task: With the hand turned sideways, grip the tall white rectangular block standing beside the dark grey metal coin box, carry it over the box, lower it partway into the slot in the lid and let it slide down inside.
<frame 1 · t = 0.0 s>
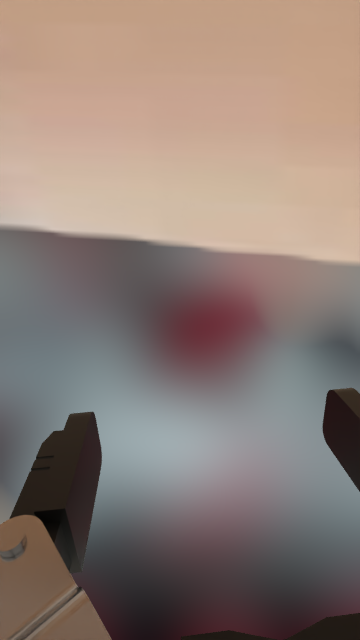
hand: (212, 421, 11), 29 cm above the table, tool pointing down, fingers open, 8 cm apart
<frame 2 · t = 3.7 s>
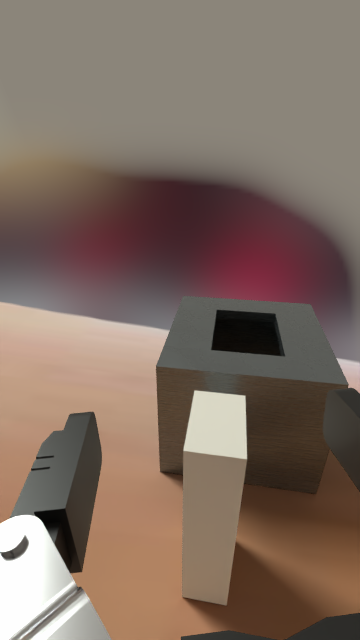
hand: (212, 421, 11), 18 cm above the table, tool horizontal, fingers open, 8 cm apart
coin box: (236, 425, 36), on the table
tall white rectangular block: (206, 563, 24), on the table
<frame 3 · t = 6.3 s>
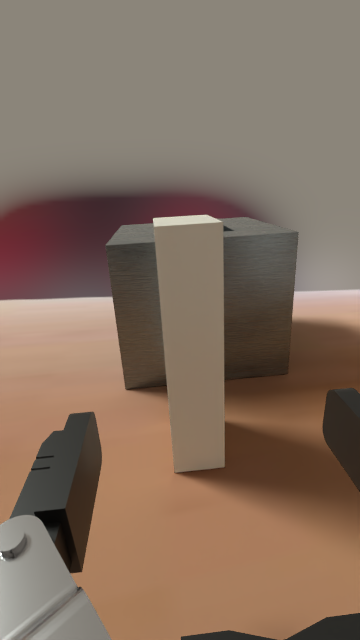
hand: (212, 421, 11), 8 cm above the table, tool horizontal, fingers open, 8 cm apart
coin box: (196, 345, 34), on the table
tall white rectangular block: (194, 442, 21), on the table
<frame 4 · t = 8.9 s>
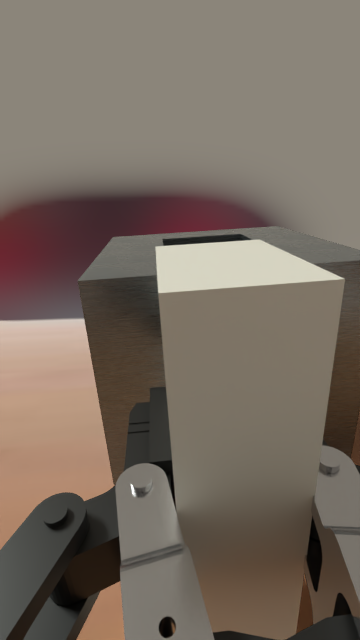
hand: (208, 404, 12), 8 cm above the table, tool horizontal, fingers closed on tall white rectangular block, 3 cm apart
coin box: (213, 399, 26), on the table
tall white rectangular block: (225, 623, 12), on the table, touching gripper
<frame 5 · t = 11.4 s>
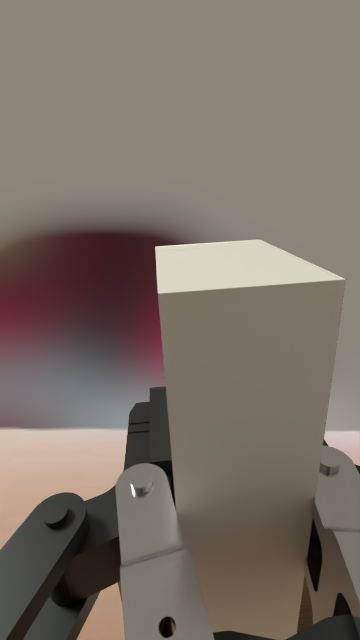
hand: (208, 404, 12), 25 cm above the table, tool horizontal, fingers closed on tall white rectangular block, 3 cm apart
coin box: (215, 562, 30), on the table
tall white rectangular block: (225, 624, 12), point 17 cm above the table, touching gripper
when the fingers open (17 cm above the table, at t = 14.4 s): tall white rectangular block drops 9 cm, resting in coin box.
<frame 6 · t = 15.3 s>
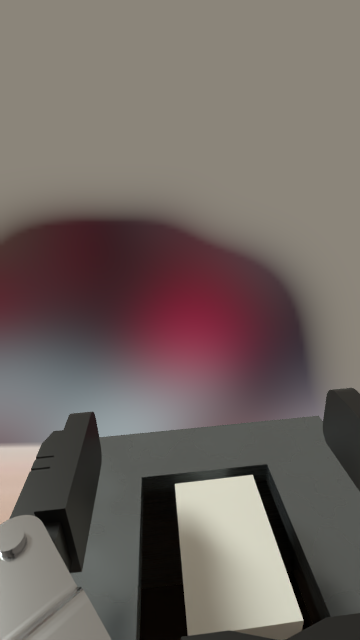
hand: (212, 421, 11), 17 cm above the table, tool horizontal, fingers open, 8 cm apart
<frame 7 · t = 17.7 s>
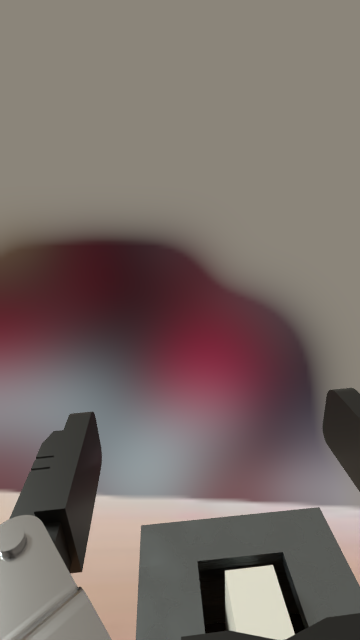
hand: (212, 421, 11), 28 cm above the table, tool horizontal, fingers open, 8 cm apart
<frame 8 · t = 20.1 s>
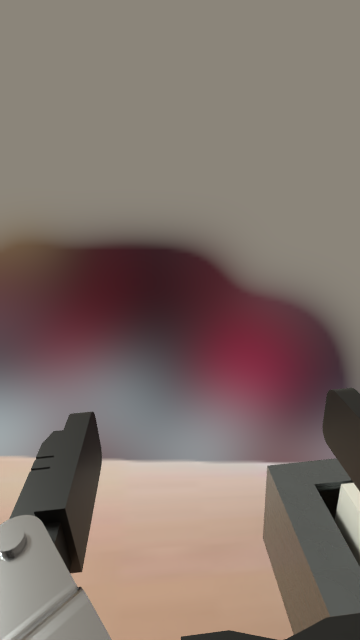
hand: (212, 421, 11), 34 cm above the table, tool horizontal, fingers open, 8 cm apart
coin box: (347, 594, 35), on the table
tall white rectangular block: (348, 596, 35), resting in coin box
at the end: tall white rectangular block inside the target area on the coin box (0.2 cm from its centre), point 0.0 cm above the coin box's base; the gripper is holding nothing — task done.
